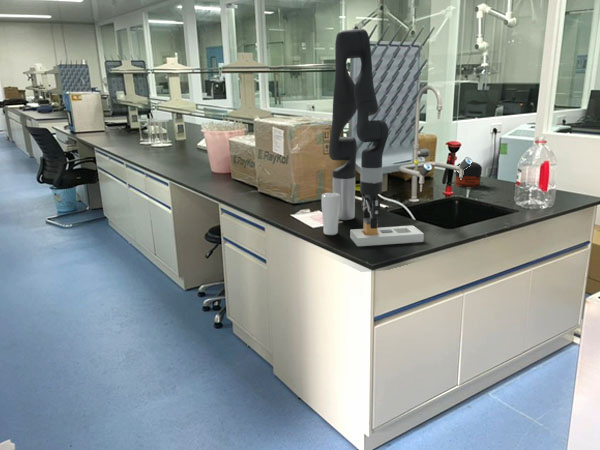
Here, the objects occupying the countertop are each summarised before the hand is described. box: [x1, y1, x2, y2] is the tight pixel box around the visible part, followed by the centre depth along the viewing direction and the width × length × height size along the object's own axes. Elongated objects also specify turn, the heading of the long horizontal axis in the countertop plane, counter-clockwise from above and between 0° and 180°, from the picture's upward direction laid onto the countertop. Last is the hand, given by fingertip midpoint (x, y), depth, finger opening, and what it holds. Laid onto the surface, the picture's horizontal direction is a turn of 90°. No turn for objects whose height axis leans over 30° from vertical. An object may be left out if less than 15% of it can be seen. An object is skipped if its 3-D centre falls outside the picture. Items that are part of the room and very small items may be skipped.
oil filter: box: [454, 161, 483, 188], centre depth 252 cm, size 13×12×13 cm
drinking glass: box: [321, 192, 340, 236], centre depth 177 cm, size 7×7×15 cm
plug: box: [362, 217, 379, 235], centre depth 169 cm, size 4×4×8 cm
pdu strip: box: [349, 225, 425, 247], centre depth 171 cm, size 10×24×3 cm, turn 99°
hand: (370, 224), depth 168 cm, fingers open, 8 cm apart
